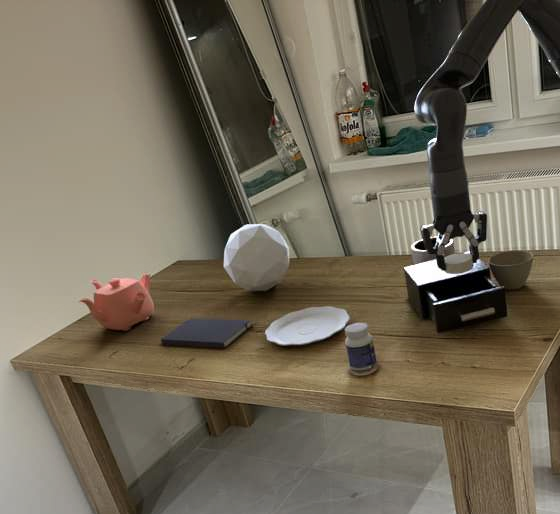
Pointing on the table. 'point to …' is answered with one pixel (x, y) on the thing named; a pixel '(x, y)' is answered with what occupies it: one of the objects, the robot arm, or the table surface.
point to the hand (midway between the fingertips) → (458, 265)
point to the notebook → (206, 332)
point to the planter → (423, 256)
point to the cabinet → (433, 280)
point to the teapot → (121, 302)
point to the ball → (256, 257)
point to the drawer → (464, 302)
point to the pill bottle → (360, 349)
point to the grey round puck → (458, 263)
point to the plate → (307, 325)
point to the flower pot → (511, 268)
